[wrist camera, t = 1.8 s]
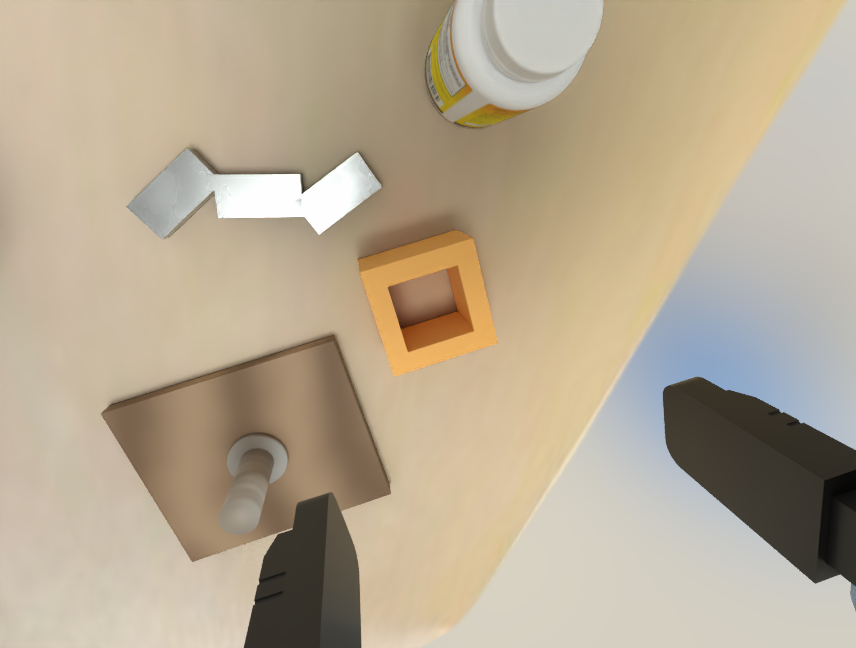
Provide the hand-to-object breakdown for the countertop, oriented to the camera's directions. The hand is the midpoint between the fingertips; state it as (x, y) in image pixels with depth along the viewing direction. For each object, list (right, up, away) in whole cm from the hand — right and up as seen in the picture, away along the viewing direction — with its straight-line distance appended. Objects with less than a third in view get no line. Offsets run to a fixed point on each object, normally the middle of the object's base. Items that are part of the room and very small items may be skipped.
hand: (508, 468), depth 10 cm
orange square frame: (-2, +5, +18) cm, 18 cm away
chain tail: (-11, +10, +14) cm, 21 cm away
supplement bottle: (+1, +17, +14) cm, 22 cm away
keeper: (-13, -5, +19) cm, 23 cm away
